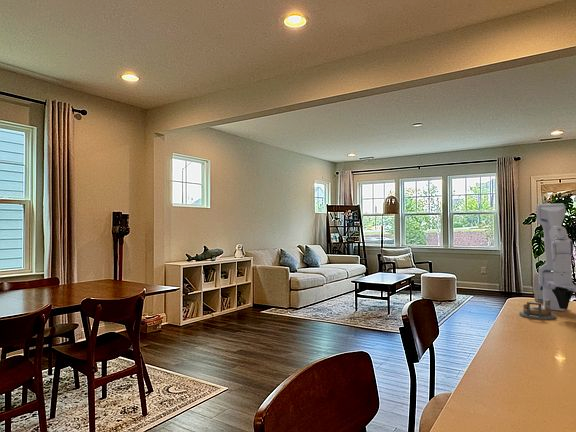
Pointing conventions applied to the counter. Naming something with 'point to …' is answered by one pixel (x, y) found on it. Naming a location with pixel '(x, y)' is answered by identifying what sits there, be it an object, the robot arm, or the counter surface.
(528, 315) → the disc
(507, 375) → the counter surface
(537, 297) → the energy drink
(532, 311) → the capstan disc
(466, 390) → the counter surface
